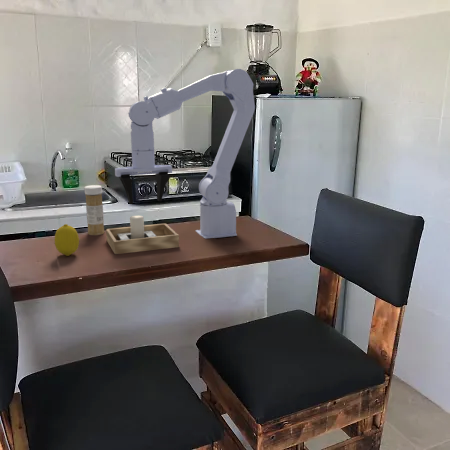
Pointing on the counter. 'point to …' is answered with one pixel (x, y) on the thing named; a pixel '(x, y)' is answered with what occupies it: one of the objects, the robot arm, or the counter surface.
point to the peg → (137, 227)
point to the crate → (143, 239)
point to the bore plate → (128, 235)
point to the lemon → (66, 240)
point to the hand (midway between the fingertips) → (145, 201)
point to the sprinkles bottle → (94, 209)
